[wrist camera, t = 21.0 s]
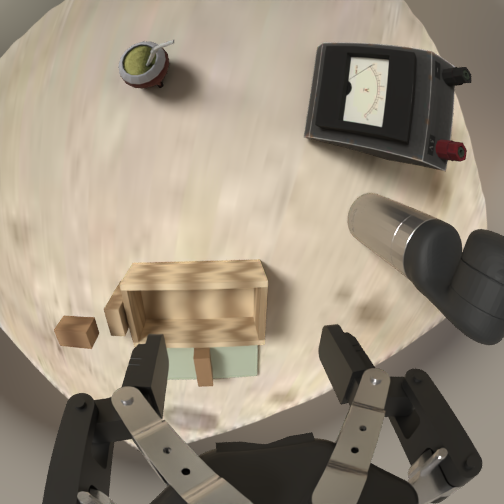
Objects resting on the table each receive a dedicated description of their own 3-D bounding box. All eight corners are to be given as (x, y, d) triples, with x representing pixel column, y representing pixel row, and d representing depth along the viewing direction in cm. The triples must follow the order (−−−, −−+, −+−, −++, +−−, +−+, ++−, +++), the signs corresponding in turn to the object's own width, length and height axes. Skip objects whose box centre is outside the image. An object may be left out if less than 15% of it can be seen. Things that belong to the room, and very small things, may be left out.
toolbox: (259, 259, 48) (269, 285, 39) (257, 317, 52) (266, 350, 44) (117, 263, 45) (98, 289, 36) (128, 320, 49) (116, 351, 41)
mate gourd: (123, 72, 34) (85, 45, 20) (163, 43, 33) (142, 2, 19) (146, 104, 36) (113, 86, 23) (188, 74, 36) (175, 41, 22)
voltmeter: (312, 49, 36) (371, 1, 17) (394, 79, 39) (472, 63, 20) (299, 137, 41) (359, 134, 23) (383, 159, 44) (464, 176, 26)
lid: (256, 329, 54) (260, 347, 49) (256, 371, 59) (259, 388, 54) (147, 333, 52) (142, 351, 47) (158, 374, 56) (155, 392, 51)
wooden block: (94, 317, 37) (85, 332, 33) (99, 333, 38) (91, 348, 34) (63, 315, 36) (53, 330, 33) (69, 330, 37) (60, 345, 34)
